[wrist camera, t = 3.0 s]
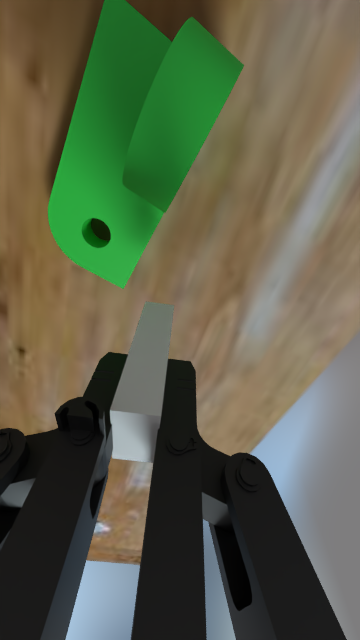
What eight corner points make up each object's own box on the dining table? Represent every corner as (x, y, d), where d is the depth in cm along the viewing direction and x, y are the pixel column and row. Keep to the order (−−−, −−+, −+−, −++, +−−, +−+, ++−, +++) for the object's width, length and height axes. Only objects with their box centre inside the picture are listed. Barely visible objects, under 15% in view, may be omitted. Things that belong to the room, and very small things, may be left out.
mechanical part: (120, 11, 11) (21, -213, 4) (222, 101, 13) (262, 32, 6) (52, 235, 17) (-36, 282, 10) (128, 277, 19) (96, 341, 12)
